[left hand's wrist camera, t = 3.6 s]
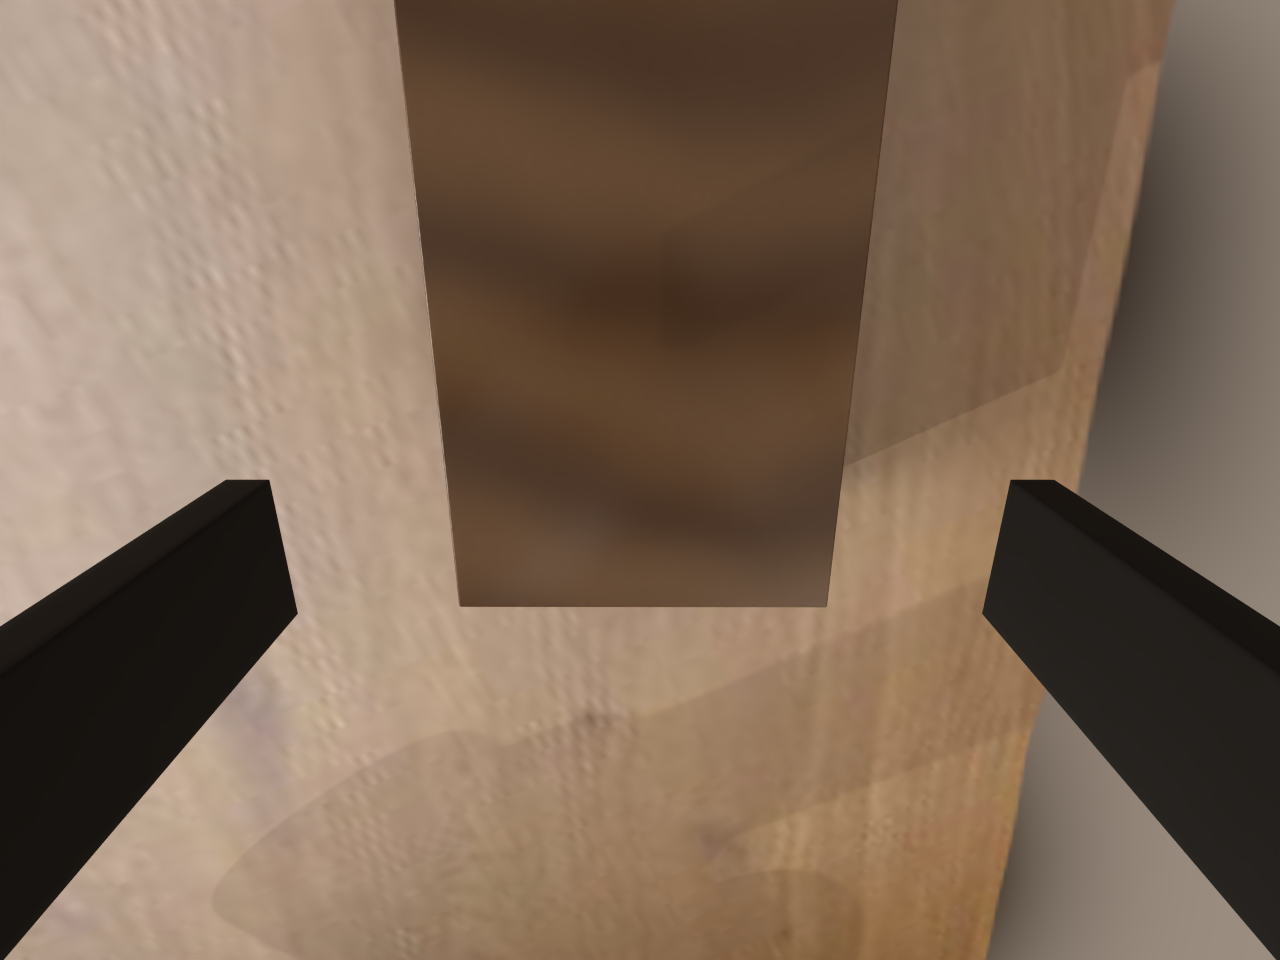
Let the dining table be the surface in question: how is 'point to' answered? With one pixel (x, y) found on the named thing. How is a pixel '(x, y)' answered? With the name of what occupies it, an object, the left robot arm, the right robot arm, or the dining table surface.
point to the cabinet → (644, 287)
